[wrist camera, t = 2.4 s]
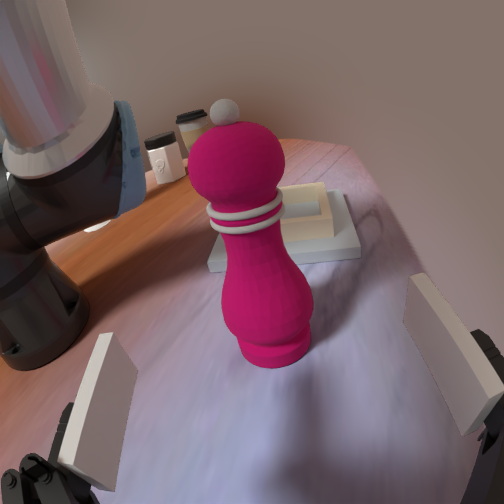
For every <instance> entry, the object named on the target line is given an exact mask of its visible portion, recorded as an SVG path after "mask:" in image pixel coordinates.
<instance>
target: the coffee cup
mask: <svg viewBox="0 0 504 504" xmlns="http://www.w3.org/2000/svg"><path fill="white" fill-rule="evenodd" d="M206 116H207V113H206V112H204V110H203V109H201V110H196V111H192V112H188V113H184V114H181V115H178V116H177V120H176V124H178V125H179V128H180V130H181V135H182V137H183V140H184V143H185V145H186V148H187V149H188V152H189V153H190V150H191V148H192V146H193V144H194V143H195V141H196V140H197V139H198V138H199V137H200V136H201V135H202V134H203V133H205V132H206V131H208V125H207V121H206Z"/></svg>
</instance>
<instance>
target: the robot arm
mask: <svg viewBox="0 0 504 504" xmlns="http://www.w3.org/2000/svg"><path fill="white" fill-rule="evenodd" d="M0 130H1V131H2V133H3V134H4V136H5V138H6V139H5V142H4V145H3V144H1V143H0V356H1V357H2V358H3V359H4V361H5V362H6V363H7V364H8V365H9V366H10V367H11V368H13V369H15V370H30V369H34V368H37V367H40V366H42V365H44V364H46V363H48V362H50V361H51V360H53V359H54V358H56V357H57V356H59V355H60V354H61V353H62V352H63V351H65V350H66V349H67V348H68V347H69V346H70V345H71V344H72V343H73V342H74V340H75V339H76V338H77V337H78V335H79V334H80V332H81V331H82V329H83V328H84V326H85V324H86V321H87V319H88V315H89V303H88V301H87V299H86V298H85V296H84V294H83V292H82V291H81V289H80V288H79V286H78V285H77V284H76V283H74V282H73V281H72V280H71V279H70V278H69V277H68V276H67V275H66V274H65V273H64V272H63V271H62V270H61V269H60V268H59V267H58V266H57V265H56V264H55V263H54V262H53V261H52V260H51V259H50V257H49V255H48V253H47V251H46V249H45V247H44V246H47V245H48V244H51V243H53V242H55V241H57V240H60V239H62V238H65V237H67V236H70V235H72V234H75V233H77V232H79V231H82V230H85V229H87V228H90V227H92V226H95V225H97V224H100V223H103V222H105V221H108V220H110V219H116V218H118V217H119V216H120V215H121V214H123V213H125V212H127V211H130V210H132V209H134V208H136V207H138V206H139V205H141V204H142V202H143V201H144V199H145V196H146V179H145V172H144V165H143V160H142V155H141V153H140V146H139V139H138V134H137V129H136V124H135V120H134V116H133V112H132V110H131V106H130V104H129V103H128V102H127V101H114V102H113V99H112V96H111V95H110V93H109V92H108V91H107V89H105V88H104V87H102V86H100V85H97V84H93V83H89V81H88V78H87V75H86V71H85V68H84V66H83V62H82V59H81V56H80V53H79V49H78V46H77V43H76V39H75V36H74V32H73V29H72V25H71V21H70V18H69V14H68V10H67V6H66V2H65V0H0ZM403 323H404V324H405V326H406V328H407V330H408V331H409V333H410V335H411V337H412V339H413V340H414V342H415V344H416V346H417V348H418V349H419V351H420V353H421V355H422V357H423V359H424V360H425V362H426V364H427V366H428V368H429V370H430V372H431V374H432V376H433V378H434V380H435V381H436V383H437V385H438V387H439V389H440V391H441V393H442V395H443V397H444V400H445V402H446V404H447V406H448V408H449V410H450V412H451V414H452V416H453V418H454V421H455V423H456V425H457V427H458V429H459V431H460V434H461V436H462V437H463V436H465V435H467V434H469V433H471V432H473V431H475V430H477V429H478V428H479V427H480V426H481V425H482V423H483V422H484V423H485V425H486V428H485V430H484V431H483V432H482V433H481V435H480V436H479V438H478V440H477V441H480V440H481V439H482V438H483V439H482V442H481V446H480V449H479V453H478V456H477V459H476V463H475V466H474V469H473V472H472V475H471V477H470V480H469V483H468V486H467V488H466V491H465V494H464V496H463V499H462V501H461V504H504V357H503V356H502V355H501V354H500V352H499V350H498V348H496V347H495V344H494V343H493V341H492V340H491V339H490V337H489V336H488V335H487V334H485V333H484V332H482V331H481V330H479V329H478V330H475V331H472V332H469V331H468V329H467V328H466V327H465V325H464V324H463V322H462V321H461V320H460V318H459V317H458V315H457V314H456V313H455V312H454V310H453V309H452V307H451V306H450V305H449V304H448V302H447V301H446V299H445V298H444V297H443V295H442V294H441V293H440V292H439V290H438V289H437V288H436V286H435V285H434V284H433V283H432V281H431V280H430V279H429V278H428V276H427V275H426V274H425V273H424V272H422V273H419V274H415V275H411V276H409V283H408V291H407V299H406V306H405V313H404V320H403ZM137 374H138V370H137V368H136V367H135V365H134V364H133V362H132V361H131V359H130V358H129V356H128V355H127V353H126V352H125V350H124V349H123V347H122V345H121V344H120V342H119V341H118V339H117V337H116V336H115V334H114V333H113V332H112V333H104V334H100V335H99V337H98V340H97V342H96V345H95V347H94V350H93V353H92V355H91V358H90V360H89V363H88V366H87V369H86V371H85V374H84V377H83V380H82V382H81V385H80V388H79V391H78V394H77V397H76V400H75V403H70V402H69V404H68V405H67V406H66V408H65V409H64V411H63V412H62V415H61V418H60V421H59V422H60V424H58V428H57V432H56V434H55V437H54V441H53V444H52V447H51V451H50V454H49V458H48V461H46V460H44V459H43V458H42V457H40V456H39V455H37V454H36V453H30V454H27V455H26V456H25V457H24V458H23V459H22V461H21V463H20V467H19V472H20V473H19V472H18V471H16V470H15V469H9V470H7V471H5V473H4V474H3V476H2V478H1V491H2V502H3V504H100V503H99V501H98V500H97V498H96V496H95V494H94V493H93V492H92V491H91V490H90V489H91V485H93V486H94V487H96V488H97V489H99V490H105V491H112V492H115V487H116V481H117V474H118V468H119V462H120V457H121V451H122V445H123V440H124V435H125V430H126V425H127V420H128V415H129V410H130V405H131V401H132V396H133V391H134V387H135V383H136V378H137Z"/></svg>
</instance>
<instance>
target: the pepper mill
mask: <svg viewBox="0 0 504 504" xmlns="http://www.w3.org/2000/svg"><path fill="white" fill-rule="evenodd" d="M239 114H240V112H239V107H238V106H237V104H236V103H235V102H234V101H231V100H229V99H220V100H218V101H216V102H215V103H214V104H213V105H212V107H211V109H210V118H211V120H212V121H213V123H214V124H216V125H217V126H216V127H214V128H212V129H210V130H208V131H206V132H205V133H203V134H202V135H201V136H200V137H199V138H198V139H197V140H196V141H195V143H194V144H193V146H192V148H191V150H190V153H189V157H188V173H189V178H190V181H191V184H192V186H193V187H194V189H195V190H196V191H197V192H198V193H199V194H200V195H201V196H202V197H204V198H206V199H207V200H208V201H209V204H208V205H207V213H208V214H209V216H210V218H211V219H210V224H211V226H212V227H213V228H214V229H215V230H216V231H218V232H220V233H221V236H222V238H223V241H224V244H225V248H226V253H227V269H226V276H225V280H224V285H223V289H222V301H221V305H222V312H223V316H224V321H225V323H226V325H227V327H228V329H229V330H230V331H231V332H232V333H233V334H234V335H235V336H236V337H237V340H238V343H239V346H240V349H241V352H242V354H243V356H244V357H245V358H246V359H247V360H248V361H249V362H250V363H252V364H254V365H256V366H259V367H263V368H280V367H283V366H287V365H289V364H291V363H293V362H295V361H297V360H299V359H300V358H301V357H302V356H303V355H304V354H305V353H306V351H307V350H308V348H309V345H310V342H311V332H310V324H309V320H310V318H311V316H312V312H313V298H312V293H311V289H310V286H309V284H308V282H307V280H306V278H305V276H304V274H303V273H302V272H301V270H300V269H299V268H298V267H297V265H296V264H295V263H294V261H293V260H292V259H291V257H290V256H289V254H288V252H287V250H286V248H285V246H284V242H283V238H282V234H281V225H280V218H281V217H282V216H283V214H284V212H285V206H284V204H283V202H282V199H283V193H282V191H281V190H280V189H279V188H277V187H276V186H277V184H278V183H279V181H280V180H281V178H282V176H283V173H284V168H285V157H284V153H283V150H282V147H281V144H280V142H279V141H278V139H277V138H276V136H275V135H274V134H273V133H272V132H271V131H270V130H268V129H267V128H265V127H264V126H262V125H259V124H257V123H252V122H242V121H241V122H237V120H238V118H239Z"/></svg>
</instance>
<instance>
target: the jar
mask: <svg viewBox="0 0 504 504" xmlns="http://www.w3.org/2000/svg"><path fill="white" fill-rule="evenodd" d="M144 143H145V147H146V149H147V153H148V156H149V159H150V163H151V166H152V169H153V173H154V176H155V179H156V182H157V183H158V185H160V184H165V183H170V182H174V181H176V180H178V179H180V178H182V177H184V176H186V171H185V168H184V164H183V160H182V157H181V153H180V149H179V146H178V142H177V141H176V137H175V133H174V132H173V131H171V132H166V133H162V134H159V135H156V136H153V137H150V138H148V139H146V140H145V141H144Z"/></svg>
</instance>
